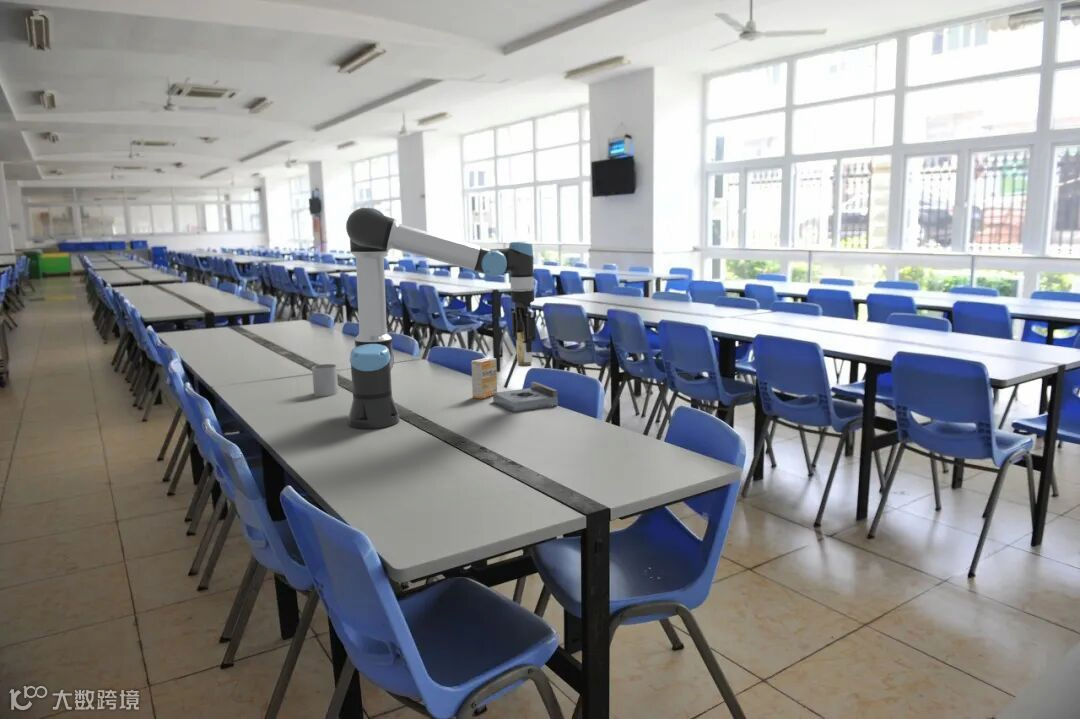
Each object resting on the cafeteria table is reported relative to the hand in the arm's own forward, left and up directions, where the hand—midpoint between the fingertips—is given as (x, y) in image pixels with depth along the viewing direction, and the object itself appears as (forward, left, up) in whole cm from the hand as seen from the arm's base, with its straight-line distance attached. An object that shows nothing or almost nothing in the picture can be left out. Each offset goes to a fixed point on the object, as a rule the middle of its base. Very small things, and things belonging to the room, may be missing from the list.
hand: (524, 360), depth 247 cm
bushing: (0, 0, -2) cm, 2 cm away
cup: (-54, +52, -15) cm, 77 cm away
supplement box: (-7, +17, -15) cm, 24 cm away
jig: (0, 0, -15) cm, 15 cm away
